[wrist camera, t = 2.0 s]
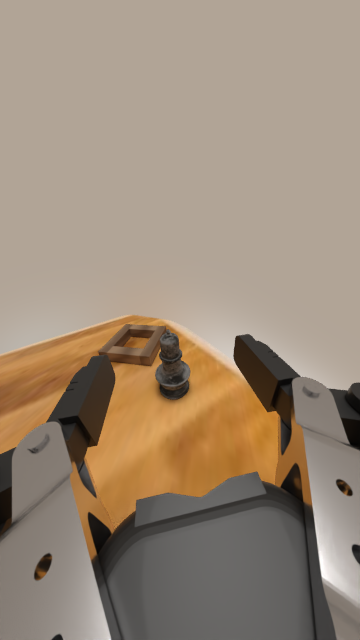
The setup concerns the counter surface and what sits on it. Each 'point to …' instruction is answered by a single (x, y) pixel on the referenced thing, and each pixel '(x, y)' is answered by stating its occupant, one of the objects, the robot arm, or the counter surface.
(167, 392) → the chess piece
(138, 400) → the counter surface
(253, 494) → the robot arm
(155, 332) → the socket block
